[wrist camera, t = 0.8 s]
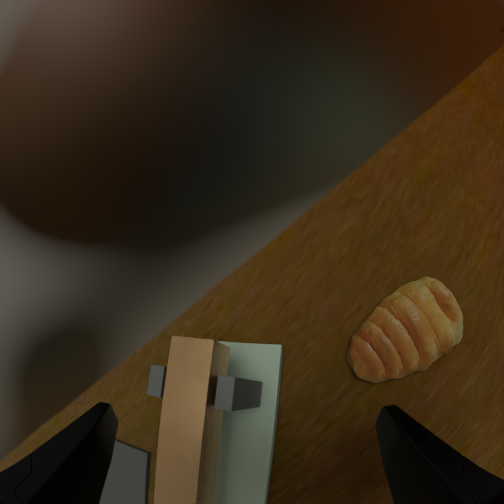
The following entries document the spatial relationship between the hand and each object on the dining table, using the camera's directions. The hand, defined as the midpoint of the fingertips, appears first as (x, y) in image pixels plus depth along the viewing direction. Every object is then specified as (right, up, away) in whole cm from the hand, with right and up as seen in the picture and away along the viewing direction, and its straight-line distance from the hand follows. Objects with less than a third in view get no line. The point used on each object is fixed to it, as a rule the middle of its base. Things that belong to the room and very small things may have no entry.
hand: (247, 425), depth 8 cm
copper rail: (-4, -12, +6) cm, 13 cm away
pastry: (+13, -1, +12) cm, 18 cm away
